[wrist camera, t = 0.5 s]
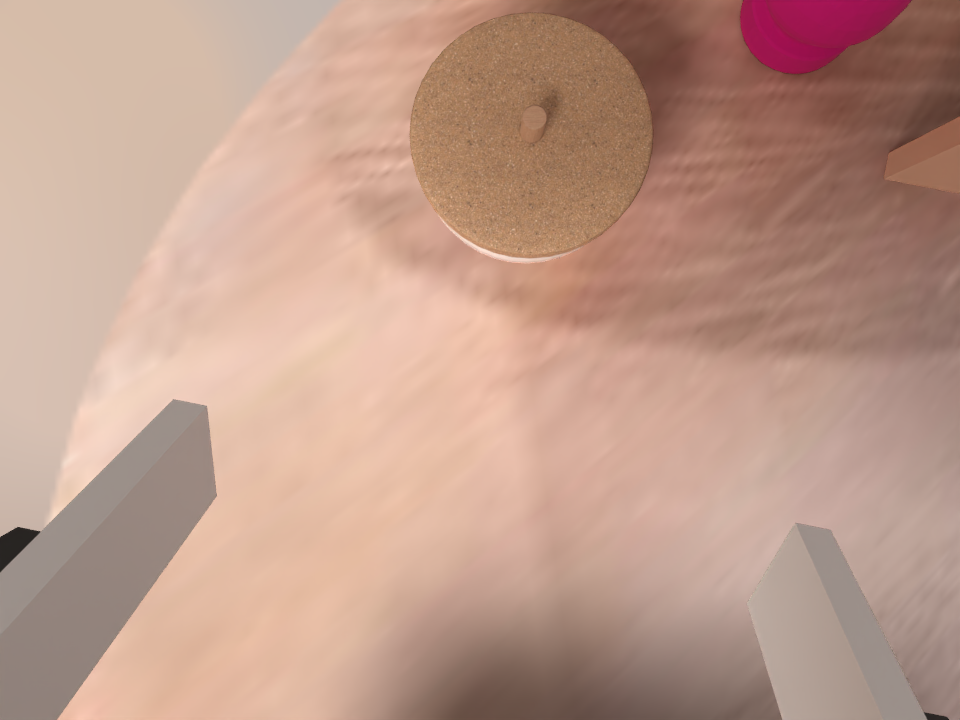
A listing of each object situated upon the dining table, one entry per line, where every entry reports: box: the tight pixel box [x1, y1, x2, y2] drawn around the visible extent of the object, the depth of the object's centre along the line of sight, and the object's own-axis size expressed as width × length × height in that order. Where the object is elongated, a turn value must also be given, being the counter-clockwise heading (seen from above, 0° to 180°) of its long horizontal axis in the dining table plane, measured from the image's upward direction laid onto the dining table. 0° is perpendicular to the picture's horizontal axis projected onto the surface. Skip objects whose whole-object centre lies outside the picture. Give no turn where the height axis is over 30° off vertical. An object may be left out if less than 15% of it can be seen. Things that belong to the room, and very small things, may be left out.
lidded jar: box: [410, 13, 653, 263], centre depth 29 cm, size 11×11×9 cm
